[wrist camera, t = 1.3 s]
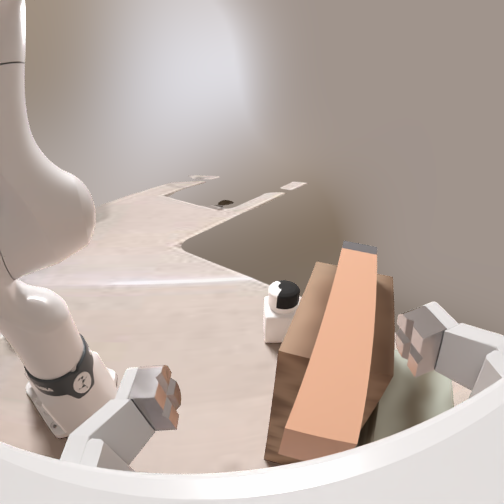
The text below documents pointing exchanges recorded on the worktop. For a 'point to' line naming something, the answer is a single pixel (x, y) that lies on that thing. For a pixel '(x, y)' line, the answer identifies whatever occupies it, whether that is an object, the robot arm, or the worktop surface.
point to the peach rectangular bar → (337, 363)
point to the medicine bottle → (279, 310)
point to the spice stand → (380, 377)
